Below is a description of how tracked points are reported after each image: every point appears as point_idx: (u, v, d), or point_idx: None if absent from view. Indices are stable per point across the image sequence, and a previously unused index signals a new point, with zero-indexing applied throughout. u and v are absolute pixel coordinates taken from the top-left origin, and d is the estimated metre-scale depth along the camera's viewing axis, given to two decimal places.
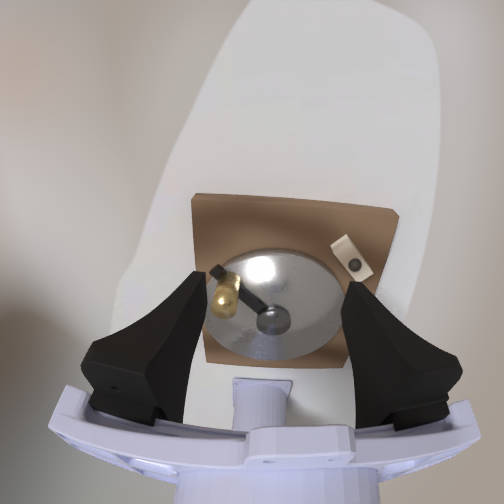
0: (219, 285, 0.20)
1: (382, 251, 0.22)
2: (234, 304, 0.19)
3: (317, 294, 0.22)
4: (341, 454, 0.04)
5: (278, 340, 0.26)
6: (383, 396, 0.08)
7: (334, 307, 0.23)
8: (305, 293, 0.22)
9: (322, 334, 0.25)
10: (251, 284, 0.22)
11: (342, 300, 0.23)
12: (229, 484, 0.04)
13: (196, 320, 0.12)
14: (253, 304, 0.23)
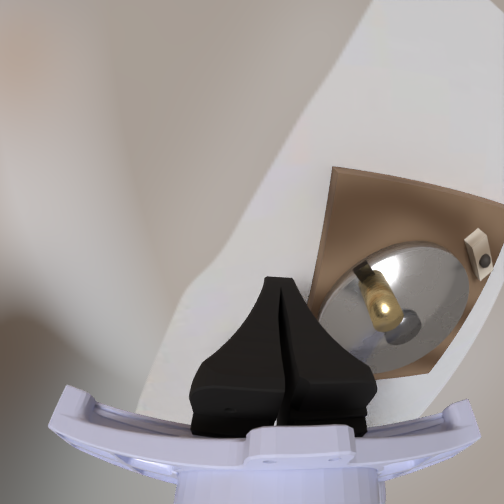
0: (374, 288, 0.14)
1: (497, 247, 0.16)
2: (402, 311, 0.13)
3: (449, 293, 0.16)
4: (341, 454, 0.04)
5: (393, 350, 0.20)
6: (286, 401, 0.08)
7: (457, 307, 0.17)
8: (440, 293, 0.16)
9: (436, 338, 0.19)
10: (394, 285, 0.16)
11: (465, 299, 0.17)
12: (229, 484, 0.04)
13: None
14: None
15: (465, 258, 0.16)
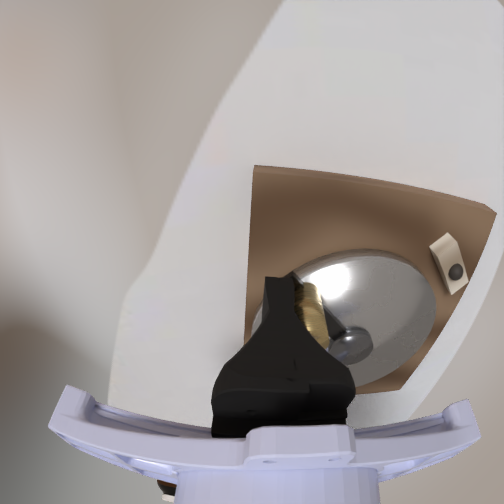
0: (298, 304, 0.13)
1: (475, 254, 0.14)
2: (327, 335, 0.12)
3: (409, 310, 0.15)
4: (341, 454, 0.04)
5: None
6: None
7: (421, 325, 0.16)
8: (396, 310, 0.15)
9: (398, 358, 0.18)
10: (333, 300, 0.15)
11: (432, 317, 0.15)
12: (229, 484, 0.04)
13: None
14: (331, 327, 0.15)
15: (432, 268, 0.15)
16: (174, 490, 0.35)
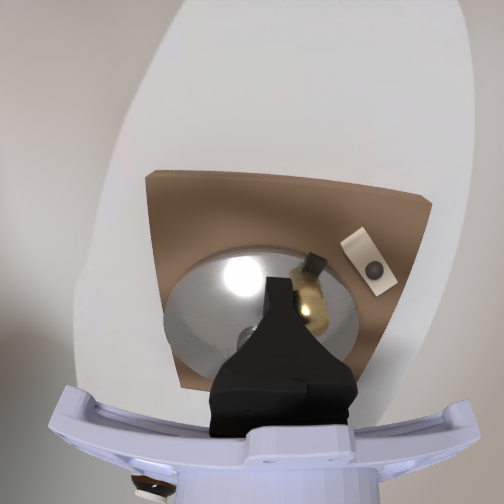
0: (316, 287, 0.13)
1: (409, 252, 0.15)
2: (323, 331, 0.12)
3: None
4: (341, 454, 0.04)
5: (222, 356, 0.18)
6: None
7: None
8: None
9: None
10: None
11: None
12: (229, 484, 0.04)
13: None
14: None
15: (350, 266, 0.16)
16: (145, 486, 0.35)
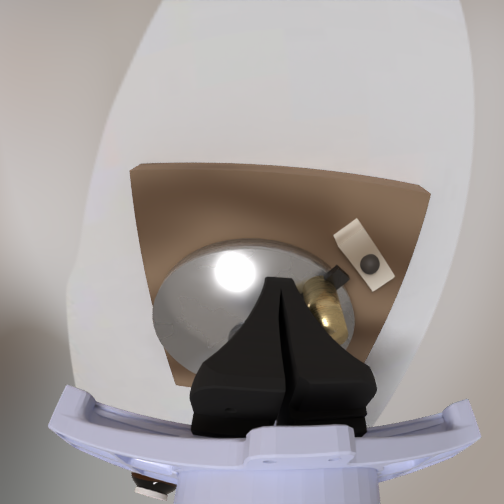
0: (338, 300, 0.13)
1: (406, 244, 0.14)
2: None
3: None
4: (341, 454, 0.04)
5: (205, 345, 0.17)
6: (286, 401, 0.08)
7: None
8: None
9: None
10: None
11: None
12: (229, 484, 0.04)
13: None
14: None
15: (345, 260, 0.15)
16: (145, 483, 0.35)
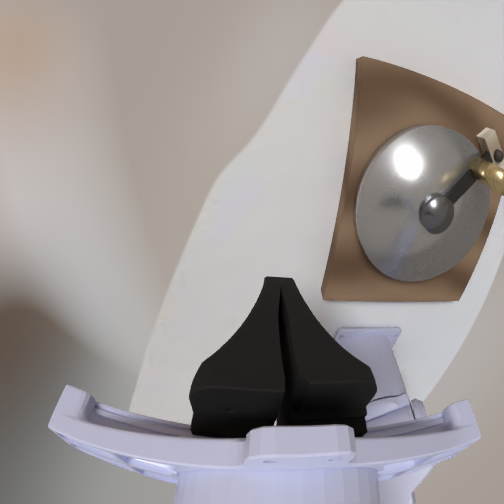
0: None
1: None
2: None
3: (451, 249, 0.19)
4: (341, 454, 0.04)
5: (398, 220, 0.18)
6: (286, 401, 0.08)
7: (434, 268, 0.20)
8: (455, 238, 0.18)
9: (401, 267, 0.20)
10: (471, 188, 0.16)
11: (439, 272, 0.20)
12: (229, 484, 0.04)
13: None
14: (458, 192, 0.16)
15: None
16: None
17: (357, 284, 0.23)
